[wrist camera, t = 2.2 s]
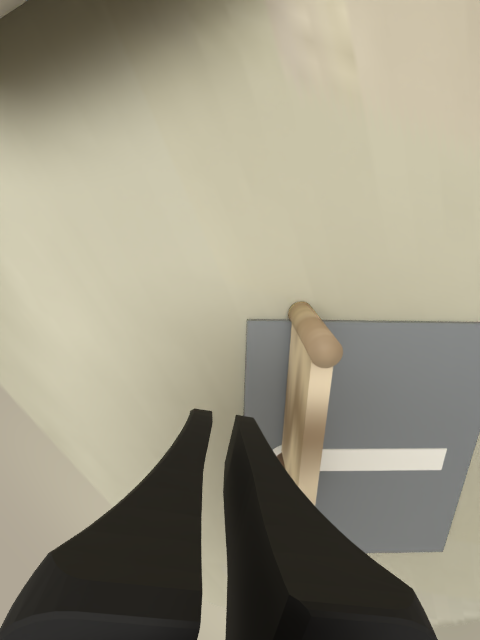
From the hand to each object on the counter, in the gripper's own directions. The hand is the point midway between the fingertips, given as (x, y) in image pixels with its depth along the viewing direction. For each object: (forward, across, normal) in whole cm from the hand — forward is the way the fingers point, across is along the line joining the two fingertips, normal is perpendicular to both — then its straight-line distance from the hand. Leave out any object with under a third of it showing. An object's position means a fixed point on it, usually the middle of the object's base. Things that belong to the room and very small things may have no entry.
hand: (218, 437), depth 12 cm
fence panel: (+9, -5, +2) cm, 10 cm away
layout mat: (+9, -11, +7) cm, 16 cm away
